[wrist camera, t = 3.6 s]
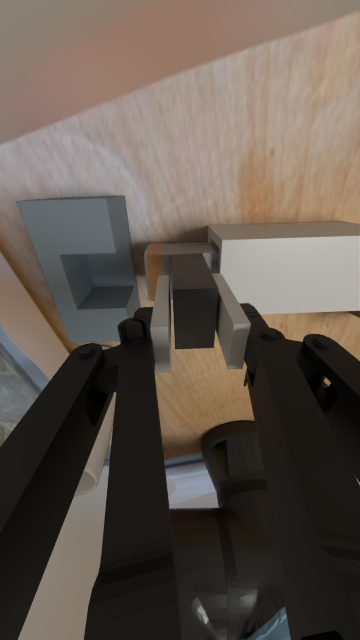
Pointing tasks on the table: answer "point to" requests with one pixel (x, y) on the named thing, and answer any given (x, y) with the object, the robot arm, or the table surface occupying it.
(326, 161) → the table surface
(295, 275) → the sleeve
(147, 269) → the sliding bolt
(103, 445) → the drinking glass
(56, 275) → the socket
